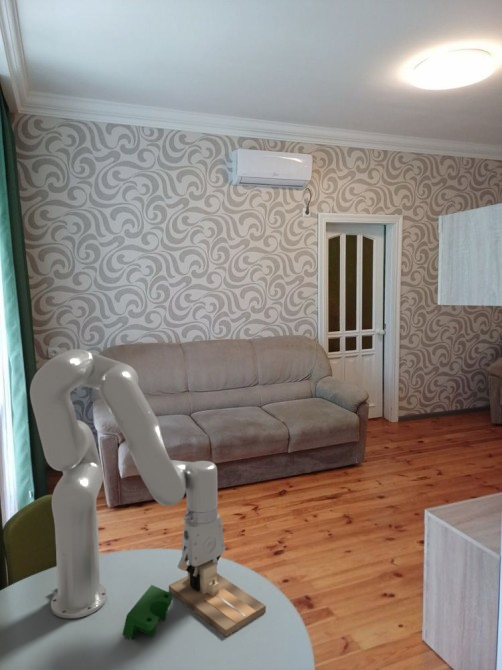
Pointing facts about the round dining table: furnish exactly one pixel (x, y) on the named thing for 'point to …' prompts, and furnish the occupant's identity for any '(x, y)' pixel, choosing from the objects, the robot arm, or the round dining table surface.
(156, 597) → the clamp
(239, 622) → the board
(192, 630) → the round dining table surface
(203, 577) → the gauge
